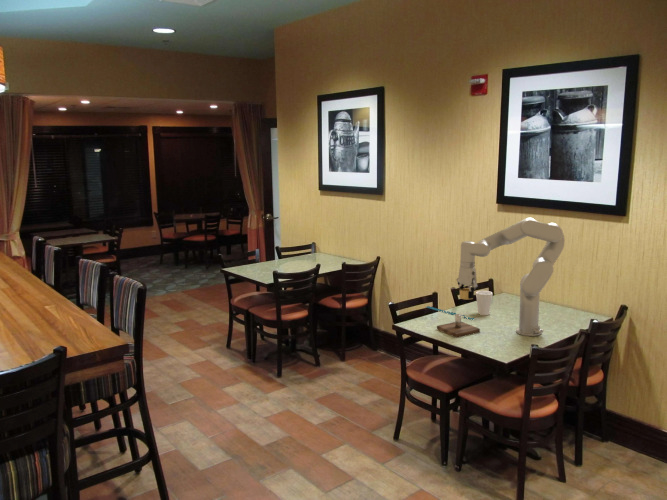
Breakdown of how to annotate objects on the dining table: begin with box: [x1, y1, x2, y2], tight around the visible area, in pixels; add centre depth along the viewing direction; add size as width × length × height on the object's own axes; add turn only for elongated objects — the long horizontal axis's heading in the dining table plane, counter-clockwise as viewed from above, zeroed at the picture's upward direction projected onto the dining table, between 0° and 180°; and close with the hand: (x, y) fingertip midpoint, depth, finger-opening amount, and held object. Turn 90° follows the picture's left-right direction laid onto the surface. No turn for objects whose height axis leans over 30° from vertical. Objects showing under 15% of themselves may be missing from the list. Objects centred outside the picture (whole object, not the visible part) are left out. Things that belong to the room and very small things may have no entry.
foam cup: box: [475, 290, 494, 316], centre depth 318 cm, size 10×9×13 cm
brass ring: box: [459, 287, 474, 300], centre depth 290 cm, size 7×7×4 cm
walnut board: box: [436, 321, 481, 338], centre depth 291 cm, size 16×16×2 cm
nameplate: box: [425, 305, 475, 321], centre depth 323 cm, size 37×1×5 cm
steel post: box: [454, 313, 462, 328], centre depth 290 cm, size 3×3×7 cm
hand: (466, 296), depth 291 cm, fingers closed on brass ring, 7 cm apart
